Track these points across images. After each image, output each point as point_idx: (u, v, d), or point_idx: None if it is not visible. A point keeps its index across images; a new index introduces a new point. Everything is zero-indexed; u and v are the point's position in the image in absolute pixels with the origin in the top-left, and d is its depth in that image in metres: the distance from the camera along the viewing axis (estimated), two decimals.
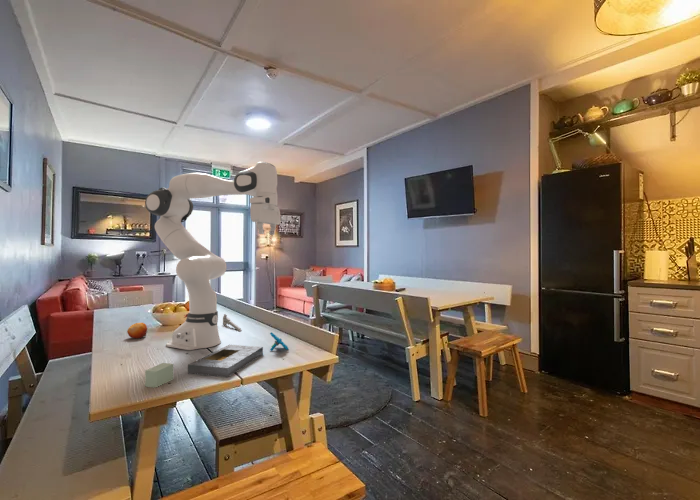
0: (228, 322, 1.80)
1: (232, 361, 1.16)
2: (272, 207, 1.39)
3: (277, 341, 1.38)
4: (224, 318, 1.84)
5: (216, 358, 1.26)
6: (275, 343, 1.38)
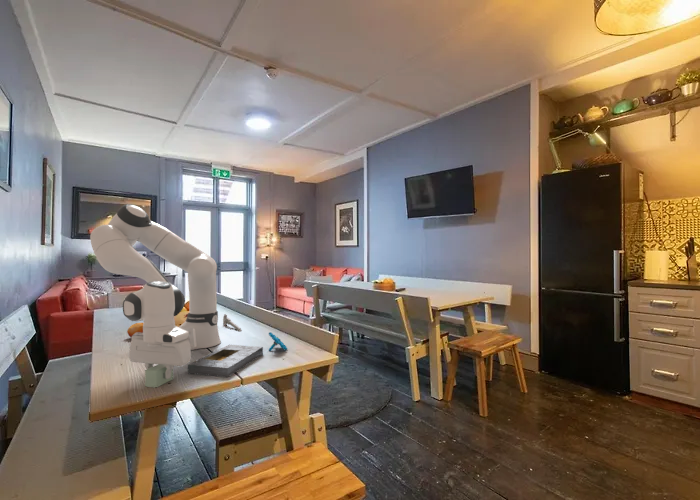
0: (228, 322, 1.80)
1: (232, 361, 1.16)
2: None
3: (275, 341, 1.38)
4: (224, 318, 1.84)
5: (216, 358, 1.26)
6: (274, 343, 1.38)
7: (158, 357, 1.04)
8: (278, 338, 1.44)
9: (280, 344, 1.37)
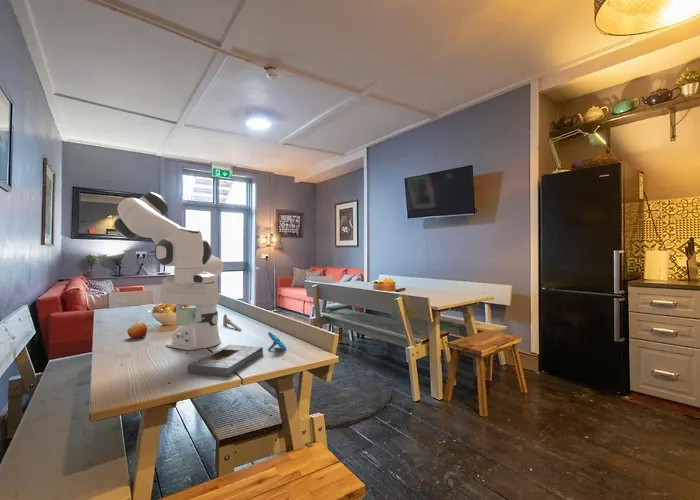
0: (228, 322, 1.80)
1: (232, 361, 1.16)
2: None
3: (275, 341, 1.38)
4: (224, 318, 1.84)
5: (216, 358, 1.26)
6: (273, 343, 1.38)
7: (188, 298, 1.09)
8: (278, 338, 1.44)
9: (279, 344, 1.37)
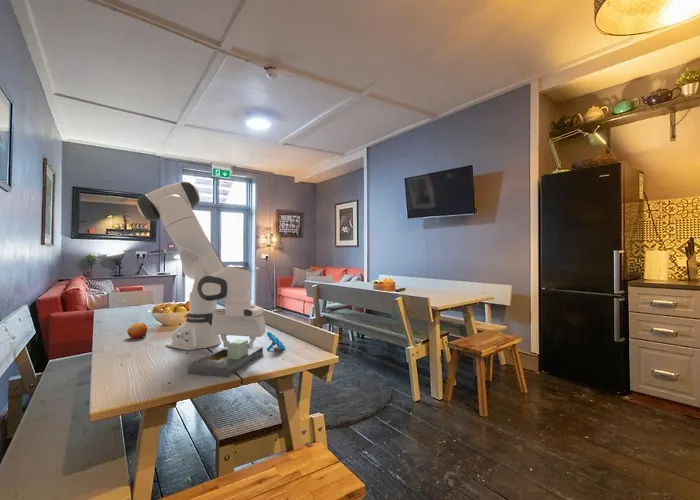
0: None
1: (232, 361, 1.16)
2: None
3: None
4: None
5: (216, 358, 1.26)
6: None
7: (238, 329, 1.20)
8: (277, 338, 1.44)
9: (277, 344, 1.37)
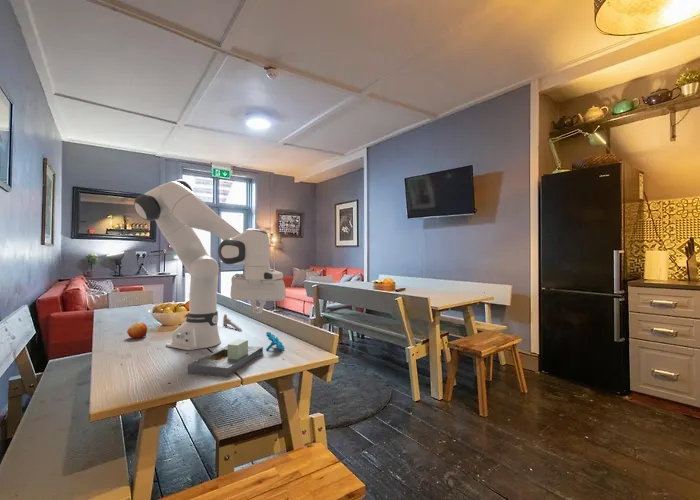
0: (228, 322, 1.80)
1: (232, 361, 1.16)
2: None
3: None
4: (224, 318, 1.84)
5: (216, 358, 1.26)
6: (271, 343, 1.38)
7: (258, 294, 1.18)
8: (277, 338, 1.44)
9: (277, 344, 1.37)
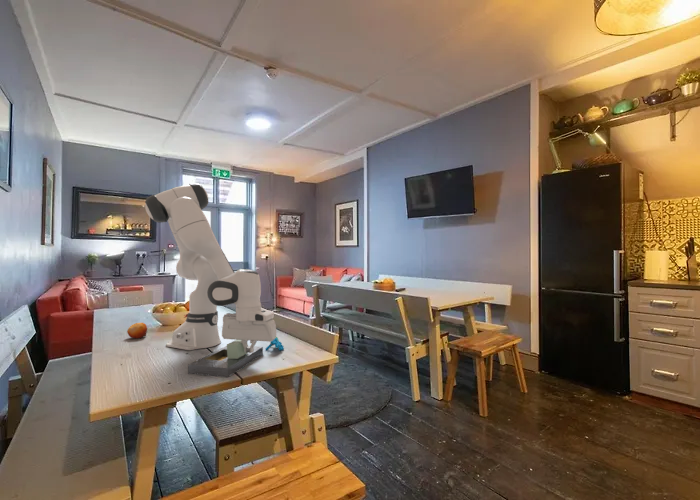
0: None
1: (232, 361, 1.16)
2: None
3: None
4: None
5: (216, 358, 1.26)
6: (270, 343, 1.39)
7: (249, 334, 1.20)
8: (277, 338, 1.44)
9: None
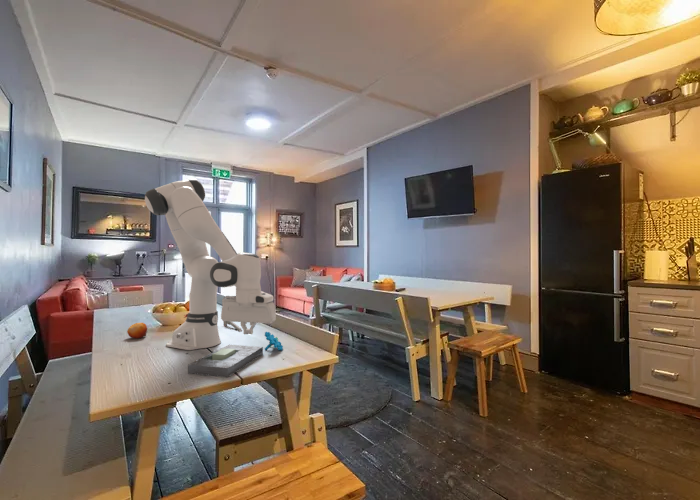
0: (229, 322, 1.80)
1: (232, 361, 1.16)
2: None
3: None
4: None
5: None
6: None
7: (249, 316, 1.22)
8: (276, 338, 1.44)
9: (274, 344, 1.37)
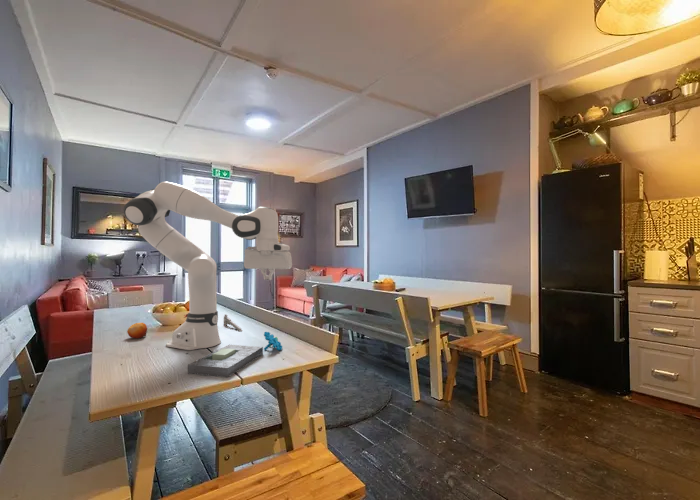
0: (229, 322, 1.80)
1: (232, 361, 1.16)
2: None
3: None
4: (225, 318, 1.84)
5: None
6: None
7: (268, 263, 1.36)
8: (276, 338, 1.44)
9: (273, 344, 1.37)
